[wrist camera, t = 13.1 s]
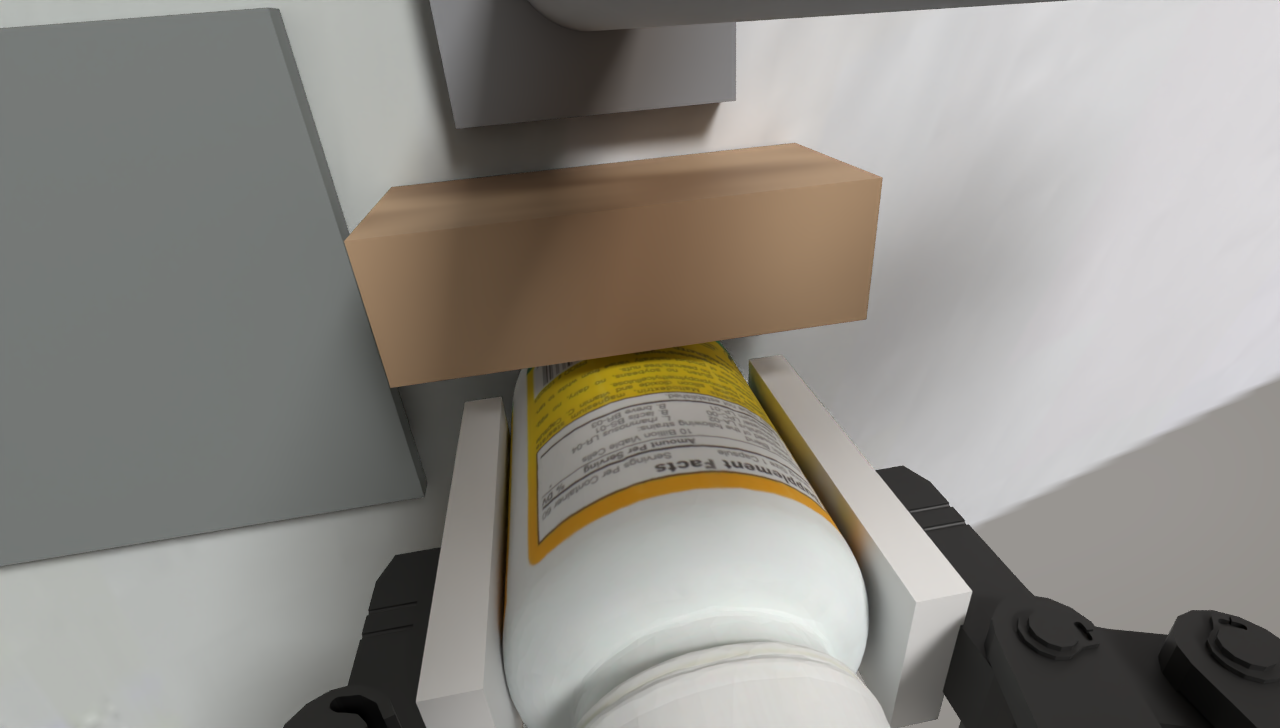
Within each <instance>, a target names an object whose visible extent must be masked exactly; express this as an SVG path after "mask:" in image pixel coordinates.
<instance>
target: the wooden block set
mask: <svg viewBox="0 0 1280 728" xmlns="http://www.w3.org/2000/svg"><path fill="white" fill-rule="evenodd" d="M429 1H430V6H431V11H432V15H433V20H434V25H435V30H436V35H437V39H438V44H439V49H440V54H441V59H442V63H443V68H444V73H445V78H446V83H447V88H448V92H449V97H450V102H451V107H452V112H453V116H454V121H455V126H456V129H460V128H470V127H480V126H489V125H499V124H509V123H519V122H529V121H539V120H549V119H559V118H569V117H579V116H589V115H599V114H609V113H619V112H628V111H638V110H648V109H658V108H668V107H678V106H688V105H698V104H708V103H718V102H728V101H736V22H725V23H710V24H694V25H679V26H663V27H648V28H632V29H617V30H601V31H578V30H572V29H568V28H565V27H562V26H560V25H558V24H556V23H554V22H552V21H550V20H549V19H547V18H546V17H544V16H543V15H542V14H541V13H539V12H538V11H537V10H536V9H535V8H534V7H533V6H532V5H531V4H530V2H529V1H528V0H429ZM882 179H883V178H882V177H880V176H877V175H875V174H872V173H869V172H867V171H864V170H862V169H859V168H857V167H854V166H852V165H849V164H847V163H844V162H842V161H839V160H837V159H834V158H832V157H829V156H827V155H824V154H822V153H819V152H817V151H814V150H812V149H809V148H807V147H804V146H802V145H799V144H797V143H790V144H781V145H772V146H763V147H753V148H744V149H735V150H726V151H717V152H708V153H699V154H690V155H681V156H671V157H662V158H653V159H644V160H635V161H626V162H617V163H608V164H598V165H589V166H580V167H571V168H562V169H553V170H544V171H535V172H526V173H516V174H507V175H498V176H489V177H480V178H471V179H462V180H453V181H443V182H434V183H425V184H416V185H407V186H398V187H391V188H390V189H389V190H388V192H387V193H386V194H385V195H384V196H383V197H382V198H381V200H380V201H379V202H378V203H377V204H376V205H375V206H374V208H373V209H372V210H371V211H370V212H369V213H368V214H367V216H366V217H365V218H364V219H363V220H362V221H361V222H360V223H359V225H358V226H357V227H356V228H355V229H354V230H353V231H352V233H351V234H350V235H349V236H348V237H347V238H346V239H345V241H344V243H345V246H346V250H347V253H348V256H349V259H350V262H351V265H352V268H353V272H354V275H355V278H356V281H357V284H358V287H359V290H360V294H361V297H362V300H363V303H364V306H365V309H366V312H367V315H368V319H369V322H370V325H371V328H372V331H373V334H374V337H375V341H376V344H377V347H378V350H379V353H380V356H381V359H382V363H383V366H384V369H385V372H386V375H387V378H388V381H389V385H390V388H393V387H400V386H407V385H414V384H421V383H428V382H435V381H442V380H449V379H456V378H463V377H470V376H477V375H484V374H491V373H497V372H504V371H511V370H518V369H525V368H532V367H539V366H546V365H553V364H560V363H567V362H574V361H581V360H588V359H595V358H601V357H608V356H615V355H622V354H629V353H636V352H643V351H650V350H657V349H664V348H671V347H678V346H685V345H692V344H699V343H705V342H712V341H719V340H726V339H733V338H740V337H747V336H754V335H761V334H768V333H775V332H782V331H789V330H796V329H802V328H809V327H816V326H823V325H830V324H837V323H844V322H851V321H858V320H865V319H866V318H867V309H868V300H869V291H870V283H871V274H872V265H873V257H874V248H875V239H876V231H877V222H878V213H879V205H880V196H881V187H882Z"/></svg>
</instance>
